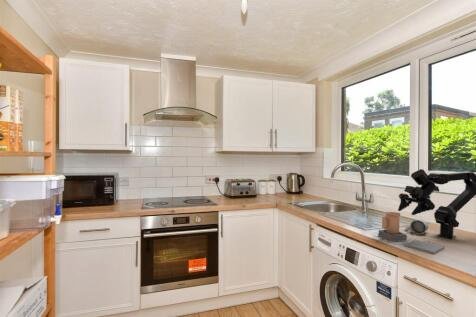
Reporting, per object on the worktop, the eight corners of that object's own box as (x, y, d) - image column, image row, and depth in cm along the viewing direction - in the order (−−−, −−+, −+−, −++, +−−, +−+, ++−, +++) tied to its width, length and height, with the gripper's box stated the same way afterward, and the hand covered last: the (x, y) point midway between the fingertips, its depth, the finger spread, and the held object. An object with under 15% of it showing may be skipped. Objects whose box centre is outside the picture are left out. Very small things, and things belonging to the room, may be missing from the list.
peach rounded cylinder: (393, 235, 140) (394, 211, 140) (402, 239, 134) (403, 214, 133) (378, 236, 139) (379, 211, 139) (387, 240, 133) (388, 214, 132)
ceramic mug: (429, 232, 147) (429, 218, 147) (426, 235, 141) (426, 221, 141) (407, 228, 155) (407, 215, 155) (403, 231, 149) (403, 218, 149)
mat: (414, 241, 131) (415, 239, 131) (444, 248, 122) (444, 246, 122) (404, 246, 125) (404, 243, 124) (434, 254, 115) (434, 251, 115)
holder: (393, 235, 142) (394, 229, 141) (406, 240, 133) (406, 234, 133) (378, 235, 140) (378, 229, 140) (390, 241, 131) (390, 235, 131)
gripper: (401, 178, 147) (383, 198, 146) (430, 182, 128) (409, 205, 127) (414, 192, 148) (395, 212, 147) (444, 198, 129) (423, 221, 128)
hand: (405, 212), depth 137 cm, fingers open, 9 cm apart
